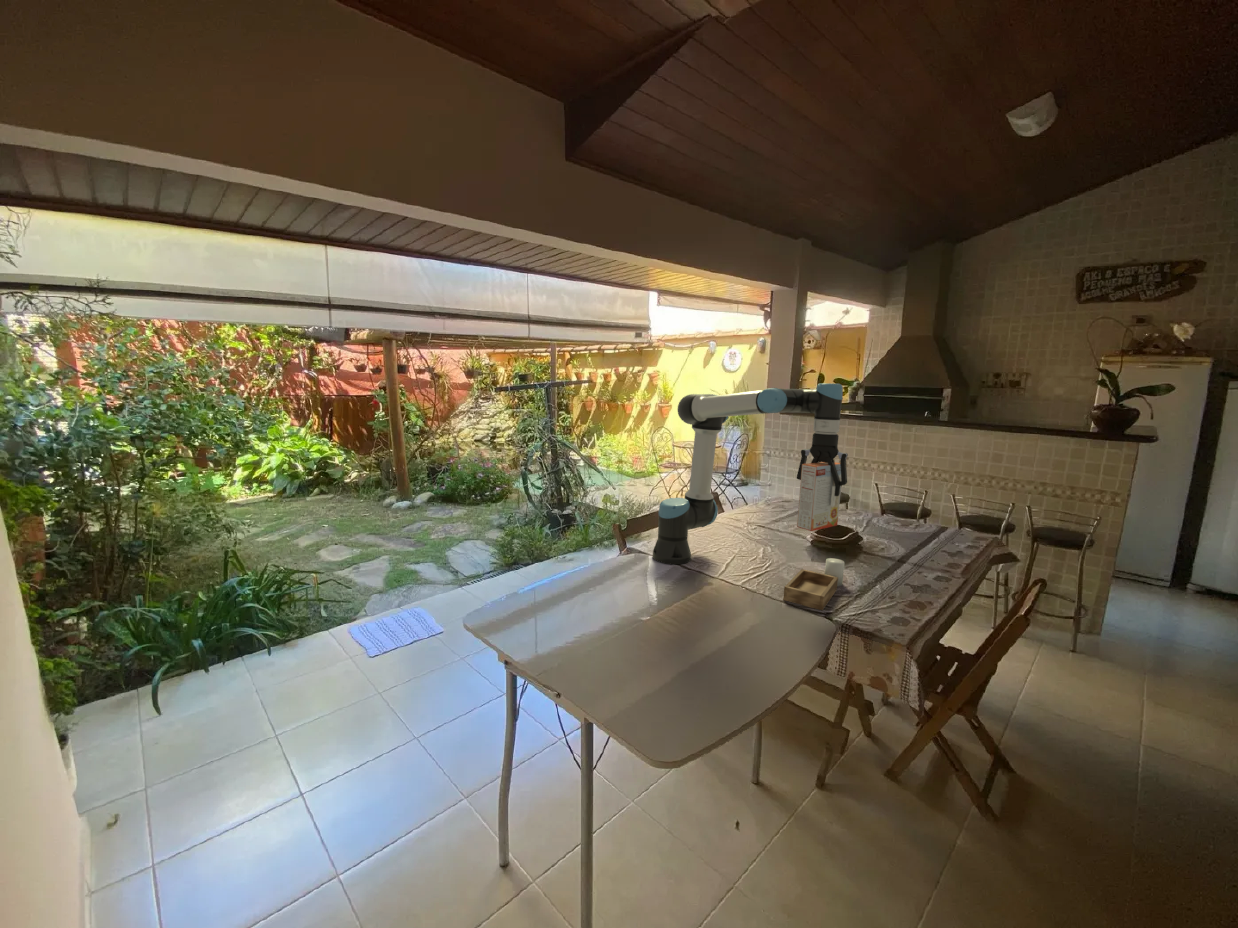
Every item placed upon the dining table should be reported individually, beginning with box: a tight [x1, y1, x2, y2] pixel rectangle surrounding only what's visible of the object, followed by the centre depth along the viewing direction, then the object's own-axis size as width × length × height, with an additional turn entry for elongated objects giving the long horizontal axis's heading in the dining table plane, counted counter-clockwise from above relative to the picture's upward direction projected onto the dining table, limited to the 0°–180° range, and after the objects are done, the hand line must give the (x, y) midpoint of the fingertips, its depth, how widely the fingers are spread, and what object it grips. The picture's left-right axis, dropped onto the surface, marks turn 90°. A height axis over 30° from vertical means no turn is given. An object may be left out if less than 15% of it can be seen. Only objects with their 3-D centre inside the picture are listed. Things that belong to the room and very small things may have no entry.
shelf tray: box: [782, 568, 838, 611], centre depth 161 cm, size 12×20×4 cm, turn 144°
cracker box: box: [796, 461, 842, 532], centre depth 156 cm, size 14×6×21 cm, turn 123°
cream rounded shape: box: [824, 557, 845, 587], centre depth 171 cm, size 6×6×8 cm
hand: (819, 503), depth 156 cm, fingers closed on cracker box, 7 cm apart
